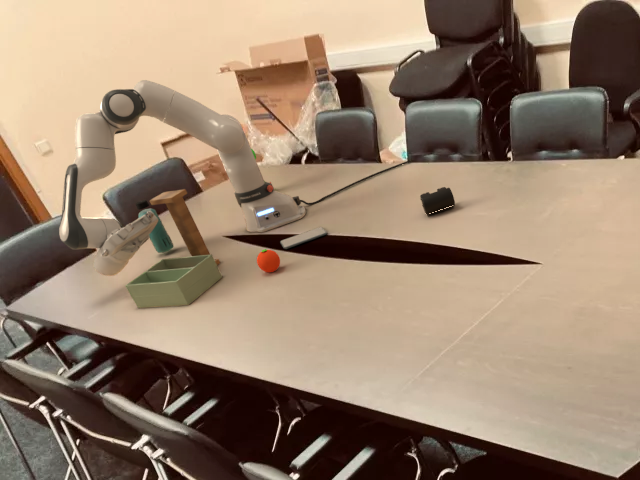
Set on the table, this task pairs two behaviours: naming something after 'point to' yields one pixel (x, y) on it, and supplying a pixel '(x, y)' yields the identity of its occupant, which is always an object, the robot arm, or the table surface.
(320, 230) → the smartphone
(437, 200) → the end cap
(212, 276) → the cutlery tray
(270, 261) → the clementine
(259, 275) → the table surface
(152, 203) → the oak stand
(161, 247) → the beverage bottle
